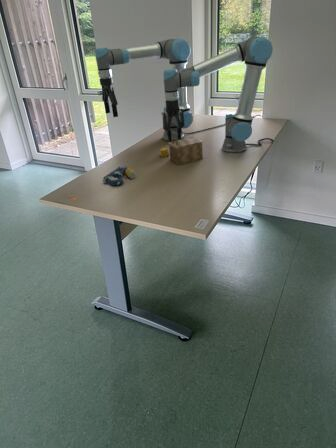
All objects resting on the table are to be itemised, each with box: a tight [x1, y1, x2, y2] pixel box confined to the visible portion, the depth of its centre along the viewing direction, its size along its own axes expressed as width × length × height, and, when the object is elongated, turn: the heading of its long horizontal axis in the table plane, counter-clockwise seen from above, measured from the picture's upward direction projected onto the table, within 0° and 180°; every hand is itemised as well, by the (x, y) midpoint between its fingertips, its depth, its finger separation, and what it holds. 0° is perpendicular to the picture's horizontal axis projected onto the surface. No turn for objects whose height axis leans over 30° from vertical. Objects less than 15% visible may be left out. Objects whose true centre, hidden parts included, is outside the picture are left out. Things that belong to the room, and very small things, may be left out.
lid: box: [167, 131, 203, 149], centre depth 202 cm, size 18×11×9 cm, turn 117°
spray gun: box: [102, 165, 136, 187], centre depth 189 cm, size 21×4×15 cm
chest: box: [168, 142, 204, 166], centre depth 207 cm, size 17×11×10 cm
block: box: [159, 147, 169, 158], centre depth 216 cm, size 4×4×4 cm
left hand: (111, 114), depth 206 cm, fingers open, 13 cm apart
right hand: (174, 139), depth 199 cm, fingers open, 6 cm apart
